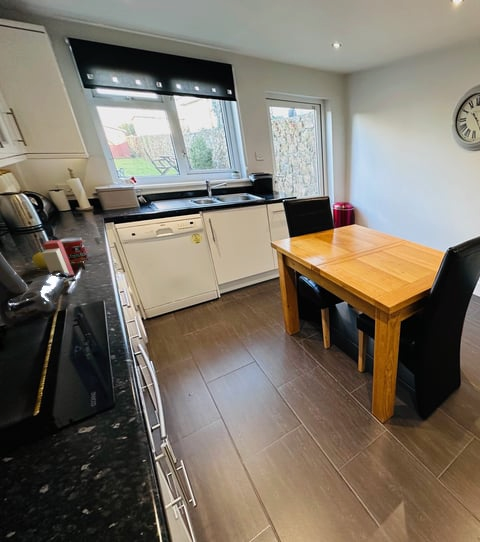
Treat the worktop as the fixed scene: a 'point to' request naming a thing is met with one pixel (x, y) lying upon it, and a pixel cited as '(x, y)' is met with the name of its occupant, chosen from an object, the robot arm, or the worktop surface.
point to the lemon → (39, 261)
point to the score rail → (77, 268)
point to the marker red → (58, 244)
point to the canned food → (74, 249)
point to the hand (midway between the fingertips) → (57, 272)
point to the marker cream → (55, 262)
